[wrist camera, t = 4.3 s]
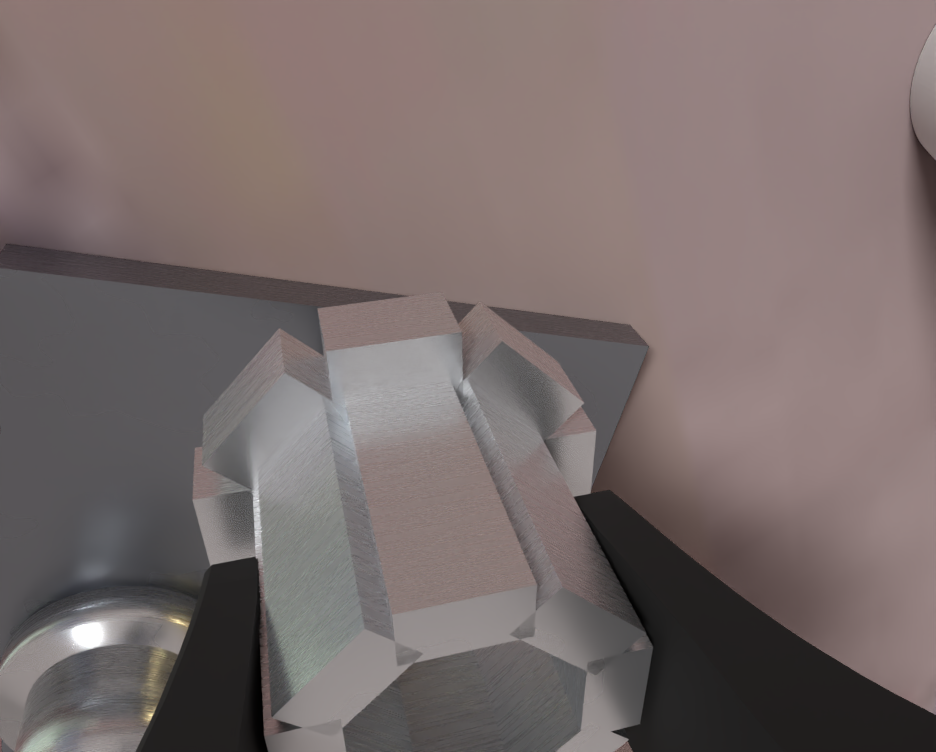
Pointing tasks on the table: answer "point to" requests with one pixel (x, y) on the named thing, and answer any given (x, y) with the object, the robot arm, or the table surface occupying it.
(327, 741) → the gear
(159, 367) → the carrier
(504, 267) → the table surface
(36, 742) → the silver rounded piece
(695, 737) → the robot arm
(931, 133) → the cup
